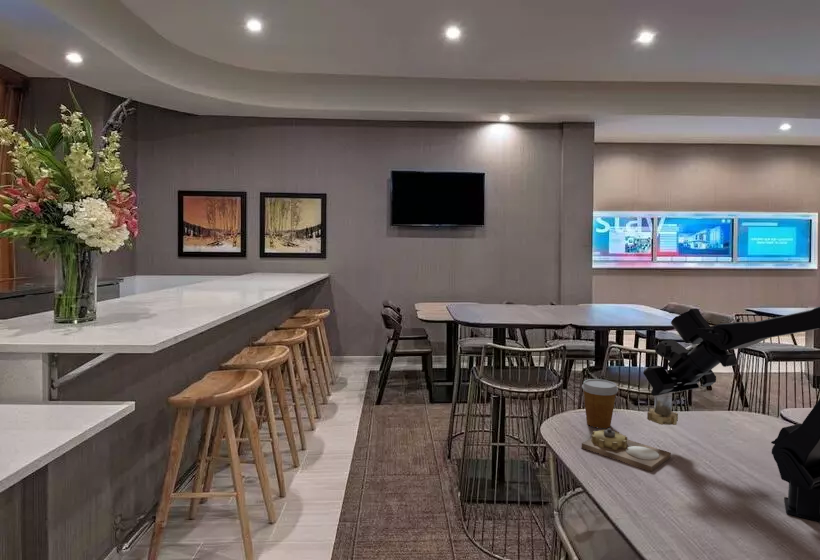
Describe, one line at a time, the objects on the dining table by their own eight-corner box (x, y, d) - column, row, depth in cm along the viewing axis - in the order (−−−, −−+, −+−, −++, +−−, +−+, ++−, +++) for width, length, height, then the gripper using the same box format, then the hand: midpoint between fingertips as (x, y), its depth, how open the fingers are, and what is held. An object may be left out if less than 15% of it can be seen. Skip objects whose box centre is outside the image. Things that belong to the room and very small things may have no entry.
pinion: (675, 427, 117) (677, 385, 117) (645, 421, 121) (647, 380, 120) (678, 418, 123) (680, 378, 122) (650, 413, 127) (651, 374, 126)
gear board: (670, 457, 116) (671, 438, 116) (651, 471, 109) (652, 451, 109) (602, 436, 129) (603, 419, 129) (581, 447, 122) (582, 429, 121)
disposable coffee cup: (599, 416, 144) (600, 377, 143) (624, 428, 135) (625, 386, 134) (573, 421, 140) (574, 380, 139) (597, 433, 131) (598, 389, 130)
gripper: (706, 329, 120) (666, 362, 131) (651, 334, 113) (613, 369, 124) (737, 367, 114) (692, 399, 125) (680, 375, 107) (637, 408, 118)
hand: (658, 393), depth 123 cm, fingers closed on pinion, 4 cm apart
